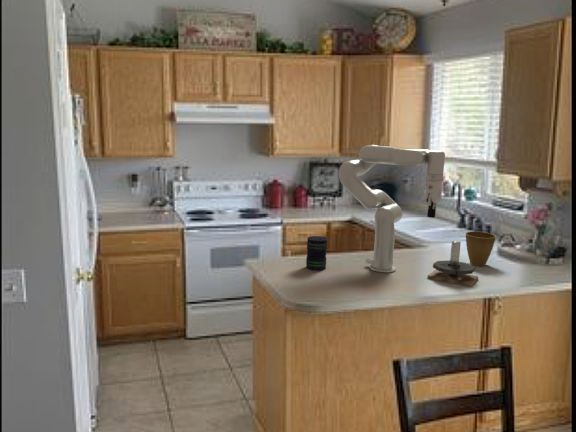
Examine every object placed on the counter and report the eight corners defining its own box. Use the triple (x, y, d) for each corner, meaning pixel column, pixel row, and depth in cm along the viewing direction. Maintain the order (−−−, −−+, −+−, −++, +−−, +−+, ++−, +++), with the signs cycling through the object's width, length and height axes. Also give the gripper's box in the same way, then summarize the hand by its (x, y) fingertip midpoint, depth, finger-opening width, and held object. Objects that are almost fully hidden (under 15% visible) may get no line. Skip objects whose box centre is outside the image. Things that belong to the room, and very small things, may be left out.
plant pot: (457, 261, 300) (459, 231, 297) (480, 260, 304) (483, 231, 301) (474, 268, 286) (477, 238, 283) (498, 267, 290) (502, 237, 288)
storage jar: (302, 266, 278) (303, 236, 275) (319, 264, 282) (320, 235, 280) (312, 271, 269) (313, 241, 267) (329, 269, 274) (331, 239, 271)
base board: (427, 278, 266) (427, 275, 265) (436, 271, 277) (436, 268, 277) (470, 286, 255) (470, 283, 255) (478, 279, 267) (478, 276, 267)
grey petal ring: (429, 269, 262) (429, 266, 262) (440, 261, 278) (440, 258, 277) (468, 276, 253) (468, 273, 253) (477, 268, 268) (478, 264, 268)
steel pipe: (447, 276, 265) (450, 241, 262) (449, 273, 269) (452, 240, 266) (456, 277, 263) (459, 243, 260) (459, 275, 267) (462, 241, 264)
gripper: (437, 179, 250) (434, 220, 253) (447, 177, 263) (443, 216, 266) (421, 178, 254) (417, 218, 257) (431, 175, 266) (428, 214, 270)
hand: (431, 217), depth 262 cm, fingers closed
